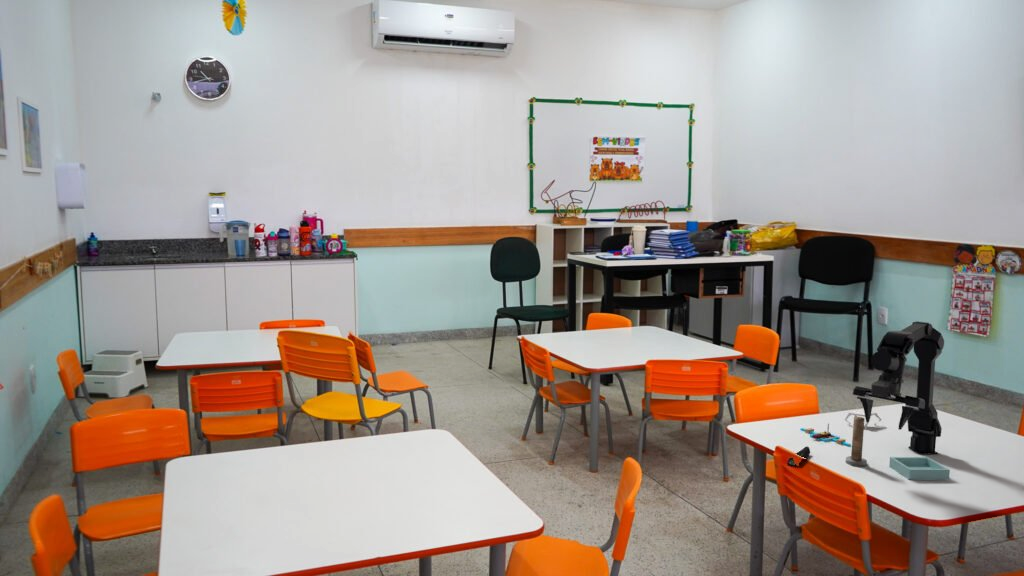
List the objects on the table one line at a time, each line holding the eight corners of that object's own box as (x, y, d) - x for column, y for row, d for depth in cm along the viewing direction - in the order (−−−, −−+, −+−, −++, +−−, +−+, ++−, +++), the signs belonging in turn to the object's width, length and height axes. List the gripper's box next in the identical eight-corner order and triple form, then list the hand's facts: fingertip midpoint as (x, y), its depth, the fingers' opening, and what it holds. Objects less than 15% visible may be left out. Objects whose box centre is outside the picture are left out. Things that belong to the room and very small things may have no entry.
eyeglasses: (859, 430, 269) (860, 417, 268) (843, 424, 277) (843, 411, 276) (886, 428, 272) (887, 415, 272) (869, 421, 280) (870, 409, 280)
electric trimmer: (813, 456, 242) (813, 447, 242) (798, 468, 230) (798, 458, 230) (801, 454, 244) (802, 444, 244) (785, 466, 232) (786, 456, 232)
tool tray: (927, 466, 233) (927, 457, 232) (948, 479, 222) (949, 469, 221) (889, 466, 232) (890, 457, 232) (909, 479, 221) (910, 469, 221)
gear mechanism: (838, 449, 249) (857, 445, 253) (839, 434, 248) (858, 430, 252) (790, 433, 266) (809, 429, 271) (791, 418, 266) (810, 415, 270)
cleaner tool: (860, 459, 238) (863, 415, 236) (870, 466, 232) (873, 420, 230) (842, 459, 238) (845, 415, 236) (851, 466, 232) (854, 420, 230)
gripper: (849, 365, 224) (840, 417, 223) (916, 377, 211) (906, 431, 210) (864, 369, 232) (855, 419, 231) (929, 380, 218) (920, 433, 217)
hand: (883, 425), depth 222 cm, fingers open, 9 cm apart
